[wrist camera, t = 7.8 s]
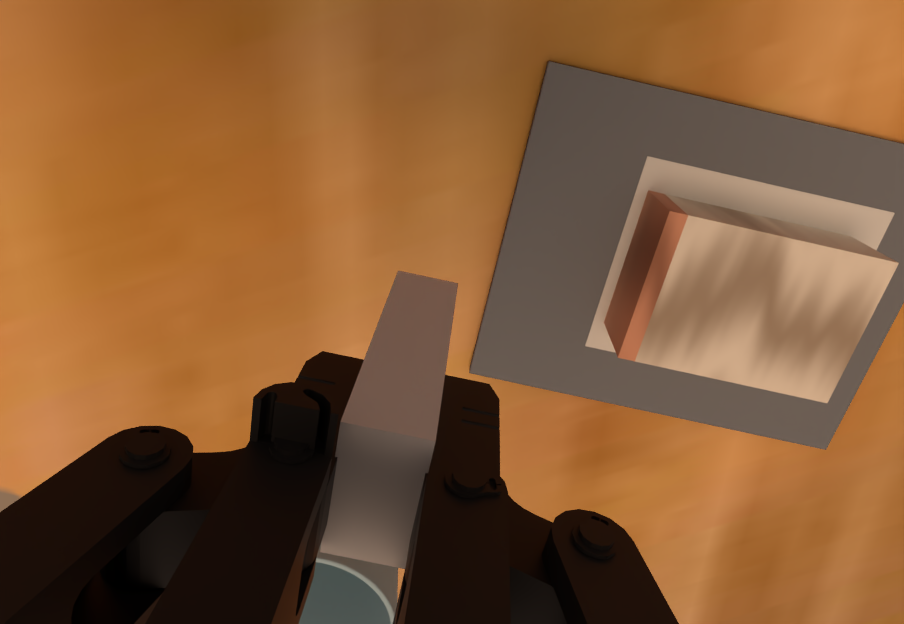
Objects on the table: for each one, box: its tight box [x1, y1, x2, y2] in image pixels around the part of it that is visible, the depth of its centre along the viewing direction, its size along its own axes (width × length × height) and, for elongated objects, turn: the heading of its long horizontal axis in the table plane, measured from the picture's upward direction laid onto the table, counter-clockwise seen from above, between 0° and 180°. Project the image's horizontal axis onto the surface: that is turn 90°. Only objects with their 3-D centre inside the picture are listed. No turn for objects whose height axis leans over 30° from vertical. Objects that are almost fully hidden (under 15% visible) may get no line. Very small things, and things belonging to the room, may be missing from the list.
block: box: [604, 190, 899, 403], centre depth 31 cm, size 7×4×10 cm
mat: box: [470, 61, 904, 450], centre depth 33 cm, size 16×20×1 cm
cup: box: [299, 541, 398, 624], centre depth 34 cm, size 8×8×10 cm
